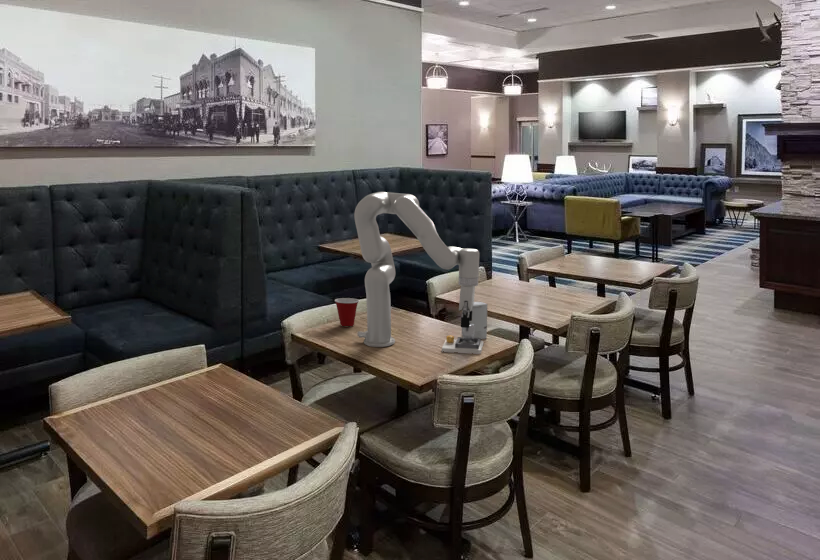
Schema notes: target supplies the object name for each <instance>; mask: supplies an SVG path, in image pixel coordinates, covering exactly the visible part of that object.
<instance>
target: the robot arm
mask: <svg viewBox="0 0 820 560" xmlns="http://www.w3.org/2000/svg"><path fill="white" fill-rule="evenodd" d="M382 214H391V215H396V216H397V217H398V218H399V219H400V220H401V221H402V223H404V225H405V226H406V227H407V228H408V229H409V230H410V231H411V232H412V234H413V235H414V236H415V237H416V238H417V240H418V243H420V245H421V246H422V248H423V249H424V251H425V253H427V255H428V256H429V257H430V258H431V259H432V261H434V263H435V264H436V265H437V266H438V267H439V268H441V269H443V270H452V269H453V268H454V267H455V266H458V281H457V282H458V286H460V289H459V304H458V311H459V312H461V317H460V327H461V328H462V327H464V328H469V322H470V321H472V308H473V304H474V302H475V294H476V293H475V292H476V291H475V290H476V287H477V286H479V273H480V272H479V271H480V251H479V250H478V249H476V248H468V247H467V248H461V247H457V246H453V245H452V246H450V245H449V246H448V245H446V244H445V242H444V241H443V240H442V239H441V237H440V236H439V233H438V232H437V229H436V225H435V224H434V222H433V221H434V220H432V219H431V218H430V217H429V216H428V215H427V214H426V212H425V211H424V210H423V209H422V208H421V207H420V201H419V199H418V198H417V197H416V196H415V195H413V194H410V193H399V192H389V191H387V192H386V191H377V192H373V193H369V194H367V195H365V196H364V197H363V198H361V200H360V201H359V202H358V203H357V205H356V206H355V210H354V216H353V217H354V222H355V223H354V224H355V228H356V232H357V238H358V242H359V246H360V251H361V255H362V258H363V260H364V261H365V262H366V263H370V264H371V267H370V268H369V269H368V270H367V272H366V274H365V276H364V287H365V293H366V296H365V297H366V323H367V325H366V326H367V327H366V329H367V330H365V331H357V332H356V333H357V337H358V338H362V339H363V344H364V345H365V346H368V347H371V348H372V347H373V348H384V347H391V346H392V345H395V343H396V340H395V338H394V337H393V336H392V316H391V315H392V312H391V311H392V309H391V308H392V307H391V304H392V303H391V292H390V291H391V290H390V284H392V282H393V281H394V280H395V277H396V268H395V262H394V257H393V252H392V248H391V245H390V242H389V241H388V240H387V239H386V238H385V237H383V236H381V234H380V230H379V229H380V228H379V225H378V222H377V217H378V215H382Z"/></svg>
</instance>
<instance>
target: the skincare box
mask: <svg viewBox="0 0 820 560" xmlns="http://www.w3.org/2000/svg"><path fill="white" fill-rule="evenodd" d="M469 323H471V324H474V325H475V332H474V338H481V340H484V339H487V335H488V334H487V333H488V331H487V329H488V303H485V302H483V301H474V304H473V308H472V321H470V322H469Z"/></svg>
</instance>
